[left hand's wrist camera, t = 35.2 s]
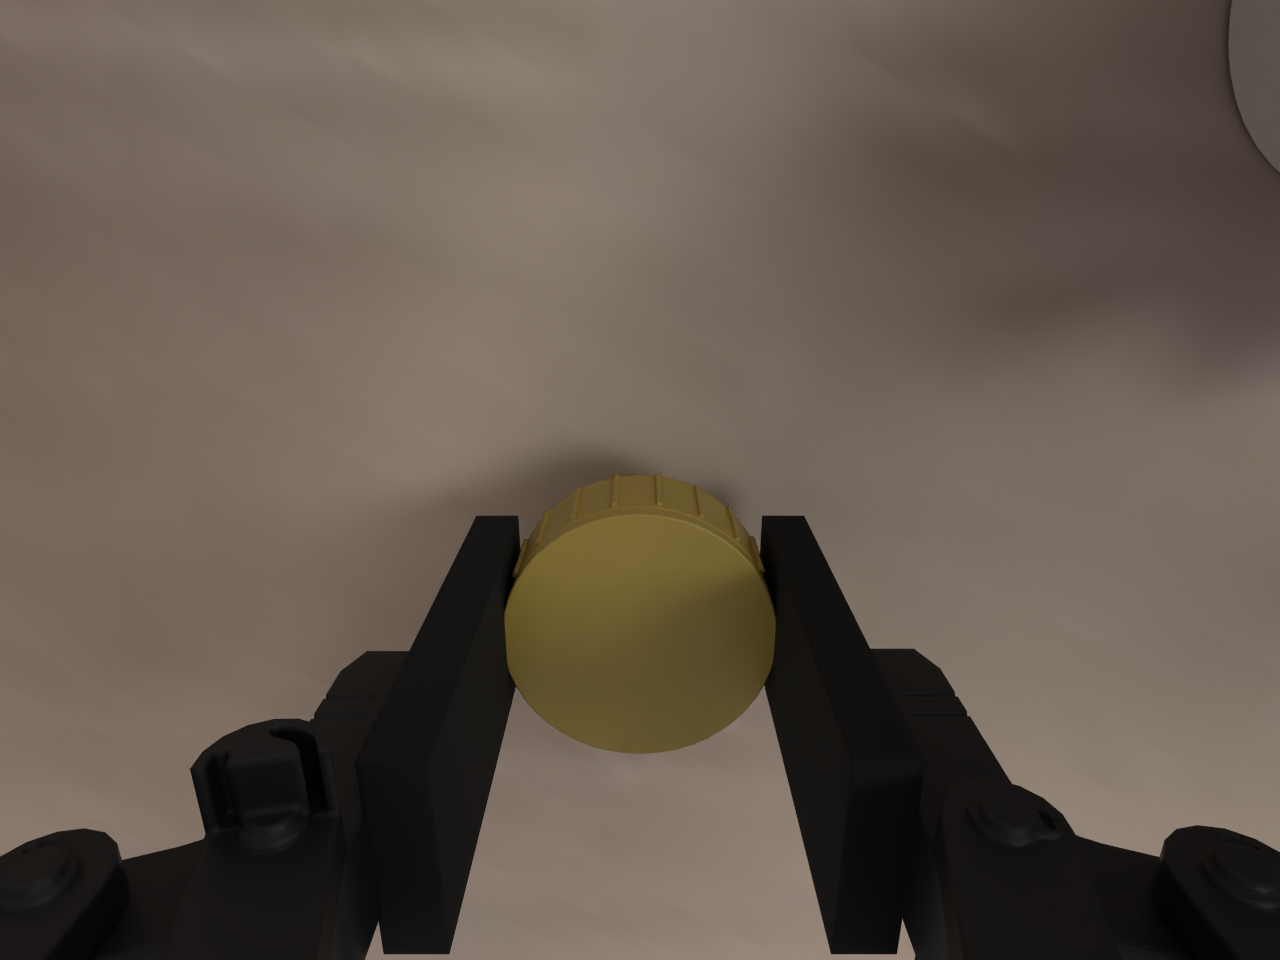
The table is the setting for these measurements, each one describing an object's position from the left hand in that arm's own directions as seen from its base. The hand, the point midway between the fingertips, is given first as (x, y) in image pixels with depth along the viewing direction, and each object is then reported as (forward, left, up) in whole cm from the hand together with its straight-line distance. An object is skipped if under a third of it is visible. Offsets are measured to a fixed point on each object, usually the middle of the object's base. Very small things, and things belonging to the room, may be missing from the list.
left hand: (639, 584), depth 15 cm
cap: (0, 0, +2) cm, 2 cm away
